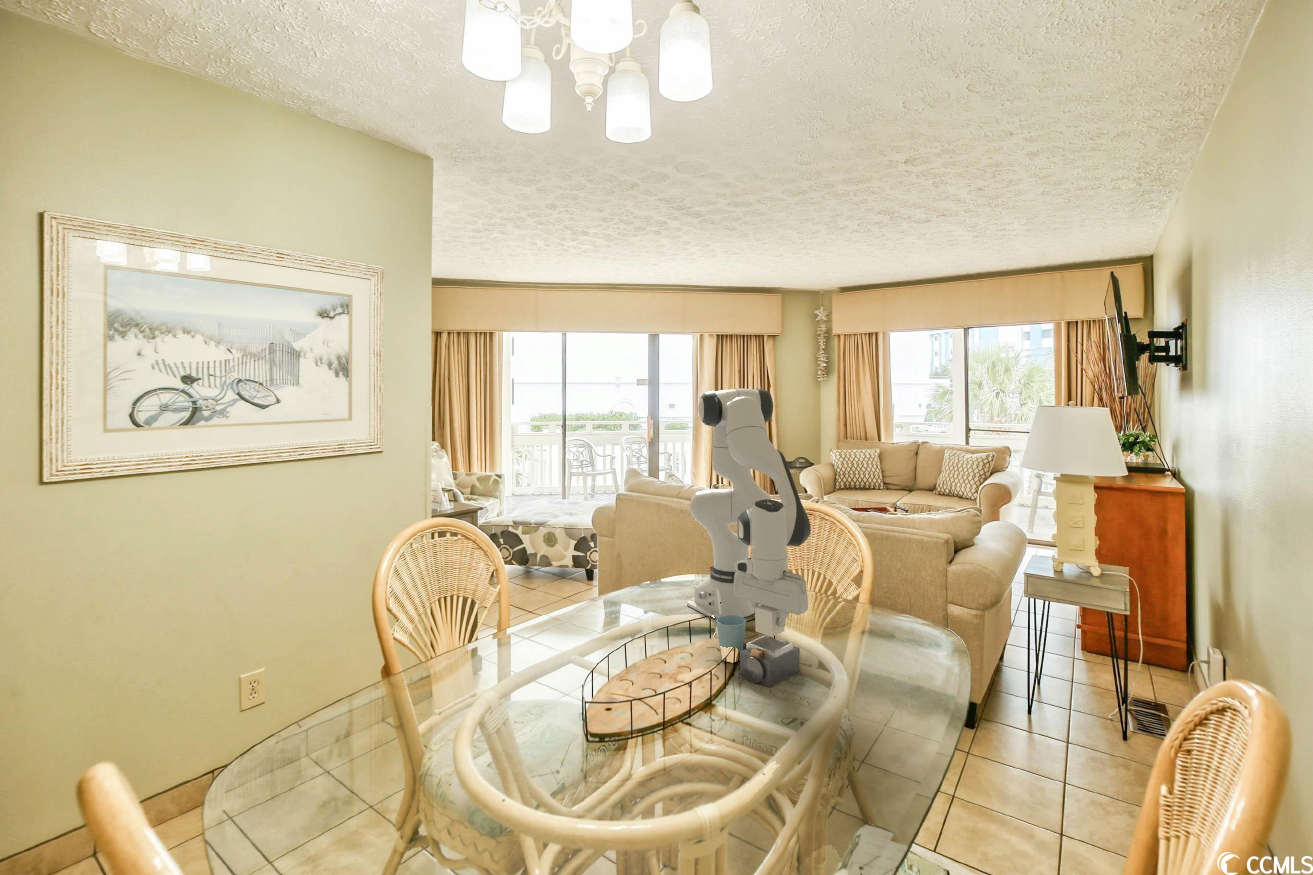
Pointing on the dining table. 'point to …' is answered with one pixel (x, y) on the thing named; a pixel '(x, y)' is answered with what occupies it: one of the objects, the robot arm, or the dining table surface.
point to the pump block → (767, 620)
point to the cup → (731, 631)
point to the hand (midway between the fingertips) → (769, 622)
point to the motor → (769, 661)
